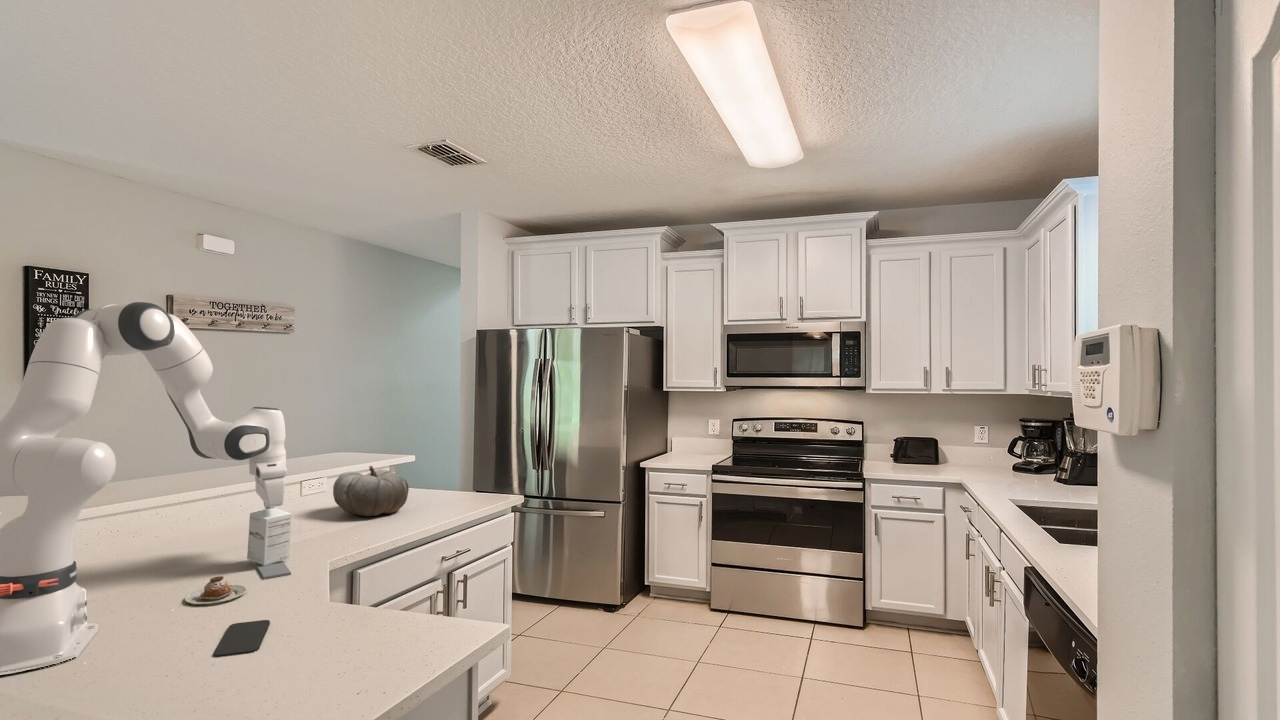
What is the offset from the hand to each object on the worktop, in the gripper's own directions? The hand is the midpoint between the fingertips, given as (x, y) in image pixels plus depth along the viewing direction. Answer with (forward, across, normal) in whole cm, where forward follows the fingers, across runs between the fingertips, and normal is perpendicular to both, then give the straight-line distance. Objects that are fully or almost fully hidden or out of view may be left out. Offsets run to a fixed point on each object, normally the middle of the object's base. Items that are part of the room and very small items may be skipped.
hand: (269, 516), depth 180 cm
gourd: (+14, -37, +38) cm, 55 cm away
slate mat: (+11, +14, -2) cm, 18 cm away
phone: (+10, +55, -14) cm, 57 cm away
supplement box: (+10, +5, -2) cm, 12 cm away
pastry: (+11, +26, -15) cm, 32 cm away
